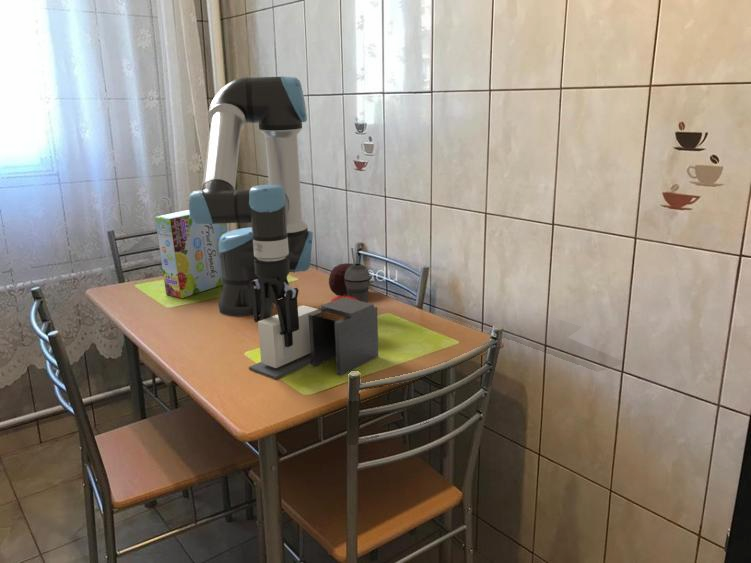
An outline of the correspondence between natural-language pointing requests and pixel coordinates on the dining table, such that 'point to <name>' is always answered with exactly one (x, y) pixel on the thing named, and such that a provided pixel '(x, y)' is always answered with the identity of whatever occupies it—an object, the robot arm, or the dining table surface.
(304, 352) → the white rectangular block
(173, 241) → the snack box
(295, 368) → the mat
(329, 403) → the dining table surface
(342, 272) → the potato
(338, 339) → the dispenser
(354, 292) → the beverage cup
